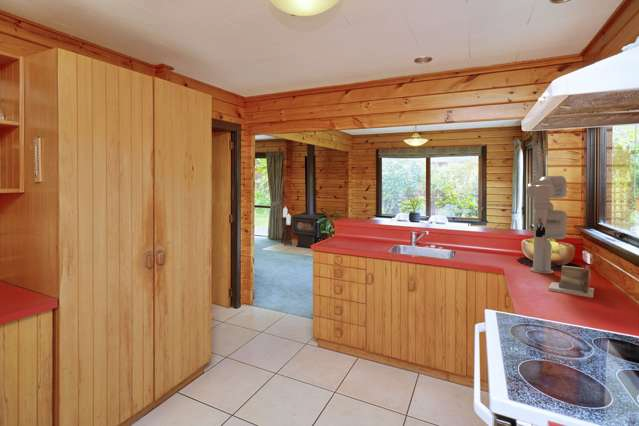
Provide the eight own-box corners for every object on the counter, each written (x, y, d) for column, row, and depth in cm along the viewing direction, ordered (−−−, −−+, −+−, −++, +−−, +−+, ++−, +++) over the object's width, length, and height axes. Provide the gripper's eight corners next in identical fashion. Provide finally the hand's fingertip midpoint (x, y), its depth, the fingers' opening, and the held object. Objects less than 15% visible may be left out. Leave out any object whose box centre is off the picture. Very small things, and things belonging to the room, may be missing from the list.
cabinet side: (581, 286, 174) (582, 264, 173) (588, 287, 172) (589, 265, 171) (579, 292, 165) (580, 268, 164) (587, 293, 163) (588, 269, 162)
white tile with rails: (551, 284, 183) (552, 277, 183) (593, 291, 171) (594, 283, 171) (548, 290, 173) (548, 282, 172) (592, 297, 161) (593, 289, 160)
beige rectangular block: (561, 285, 176) (562, 265, 175) (582, 288, 170) (583, 268, 169) (560, 286, 174) (561, 266, 173) (582, 290, 168) (583, 269, 167)
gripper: (536, 205, 196) (535, 234, 198) (531, 207, 184) (530, 237, 185) (551, 206, 192) (550, 235, 193) (547, 207, 179) (546, 238, 180)
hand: (540, 236), depth 189 cm, fingers open, 9 cm apart
